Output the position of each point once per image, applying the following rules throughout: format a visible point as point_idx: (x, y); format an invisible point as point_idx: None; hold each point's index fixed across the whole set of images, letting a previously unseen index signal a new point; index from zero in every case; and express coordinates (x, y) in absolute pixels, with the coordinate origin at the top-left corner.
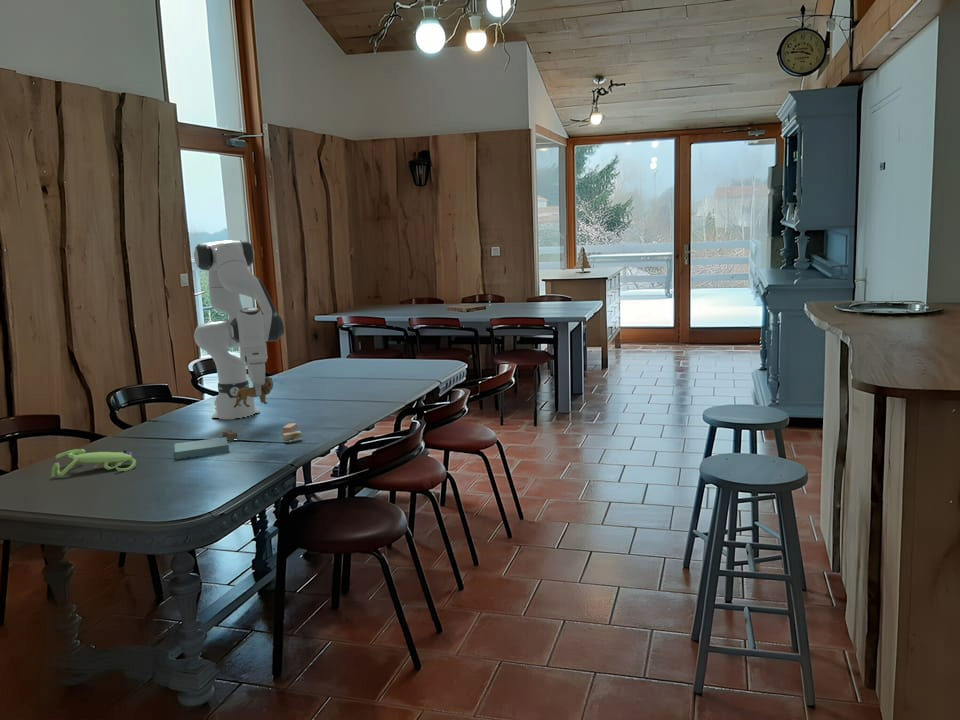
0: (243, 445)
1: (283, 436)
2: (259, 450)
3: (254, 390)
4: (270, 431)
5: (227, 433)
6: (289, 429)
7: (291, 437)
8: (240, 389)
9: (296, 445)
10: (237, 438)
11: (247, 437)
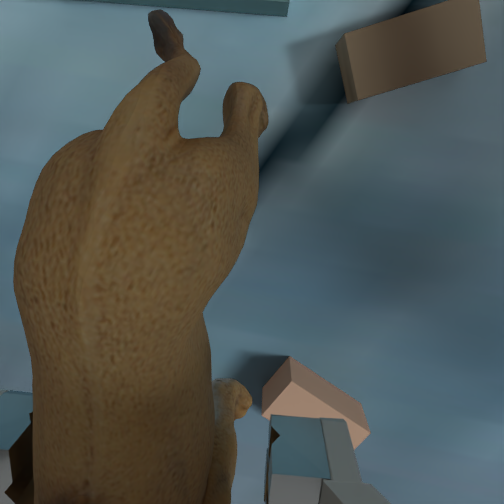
0: (182, 112)
1: None
2: (14, 177)
3: (35, 433)
4: (425, 317)
5: (374, 24)
6: (265, 403)
7: None
8: (88, 160)
9: (28, 361)
10: (348, 100)
11: (373, 171)
